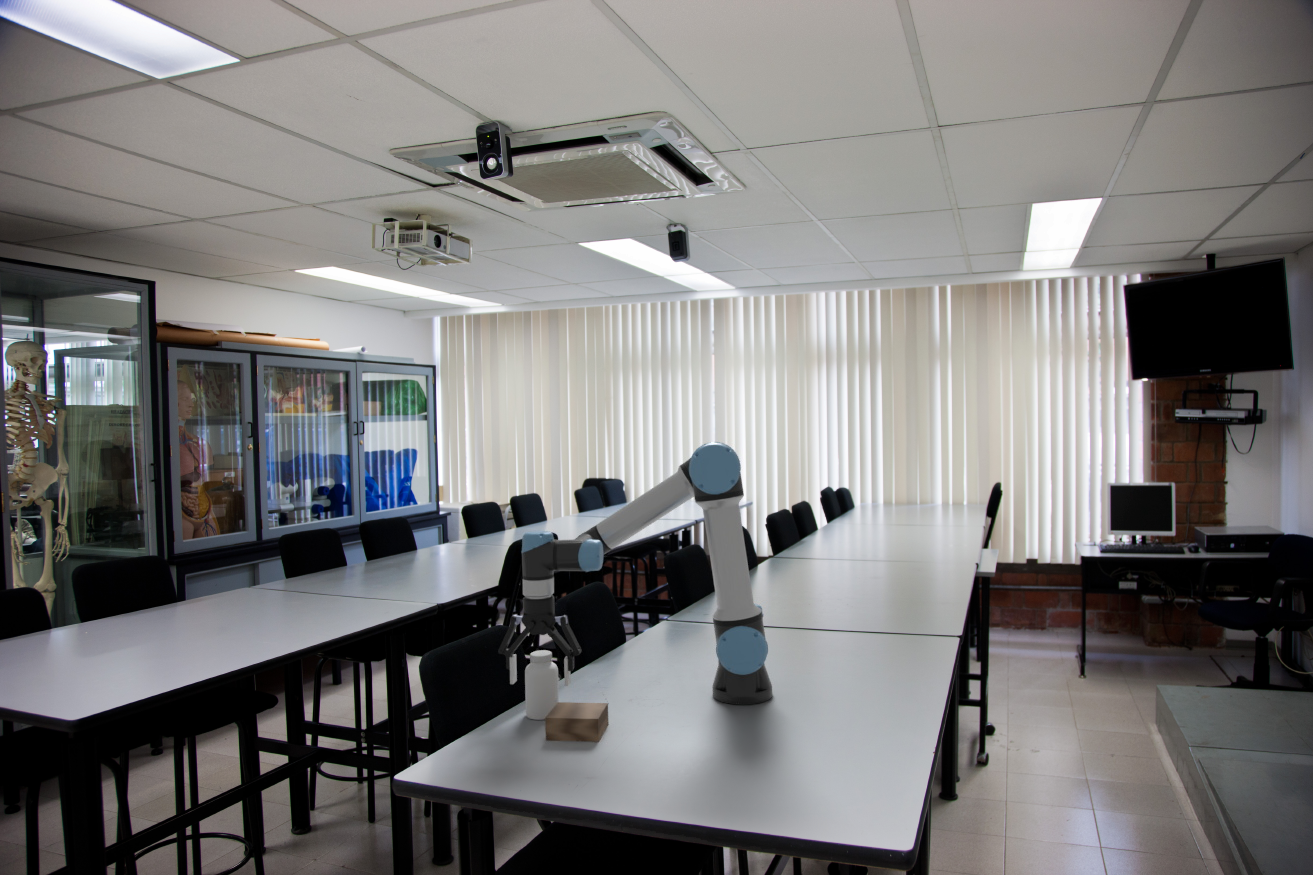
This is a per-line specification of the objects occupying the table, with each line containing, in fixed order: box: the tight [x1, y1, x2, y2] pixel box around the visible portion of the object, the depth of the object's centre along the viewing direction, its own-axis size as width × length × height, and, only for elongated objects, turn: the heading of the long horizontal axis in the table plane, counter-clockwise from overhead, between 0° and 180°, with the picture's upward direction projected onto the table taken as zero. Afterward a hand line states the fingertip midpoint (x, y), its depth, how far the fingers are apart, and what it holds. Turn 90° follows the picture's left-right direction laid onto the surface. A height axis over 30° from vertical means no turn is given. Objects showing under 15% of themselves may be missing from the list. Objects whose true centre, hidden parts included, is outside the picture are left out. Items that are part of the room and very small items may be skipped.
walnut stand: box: [544, 701, 609, 743], centre depth 172 cm, size 12×10×5 cm
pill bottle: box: [524, 649, 560, 721], centre depth 185 cm, size 8×8×15 cm
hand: (540, 683), depth 185 cm, fingers open, 13 cm apart
